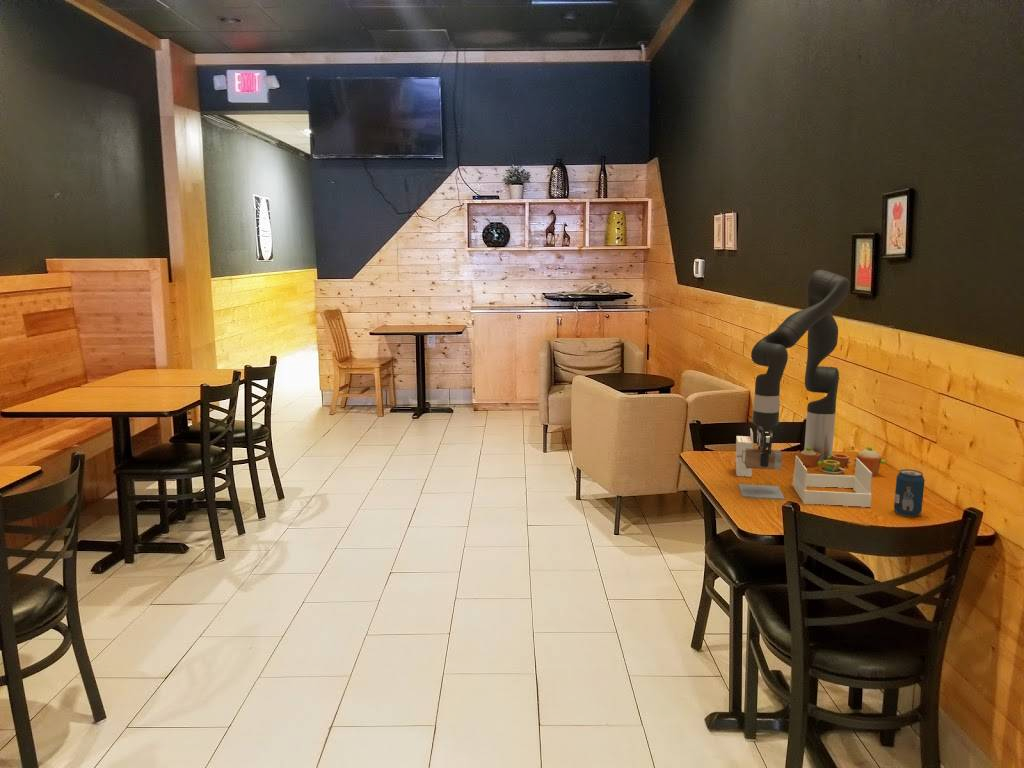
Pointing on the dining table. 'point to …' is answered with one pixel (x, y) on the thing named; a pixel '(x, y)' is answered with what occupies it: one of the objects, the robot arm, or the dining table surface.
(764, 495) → the mat
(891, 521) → the dining table surface
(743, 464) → the ink cartridge box
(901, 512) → the soda can
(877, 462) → the toy tea set
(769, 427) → the robot arm
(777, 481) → the dining table surface
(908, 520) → the dining table surface
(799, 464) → the carton
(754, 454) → the box
